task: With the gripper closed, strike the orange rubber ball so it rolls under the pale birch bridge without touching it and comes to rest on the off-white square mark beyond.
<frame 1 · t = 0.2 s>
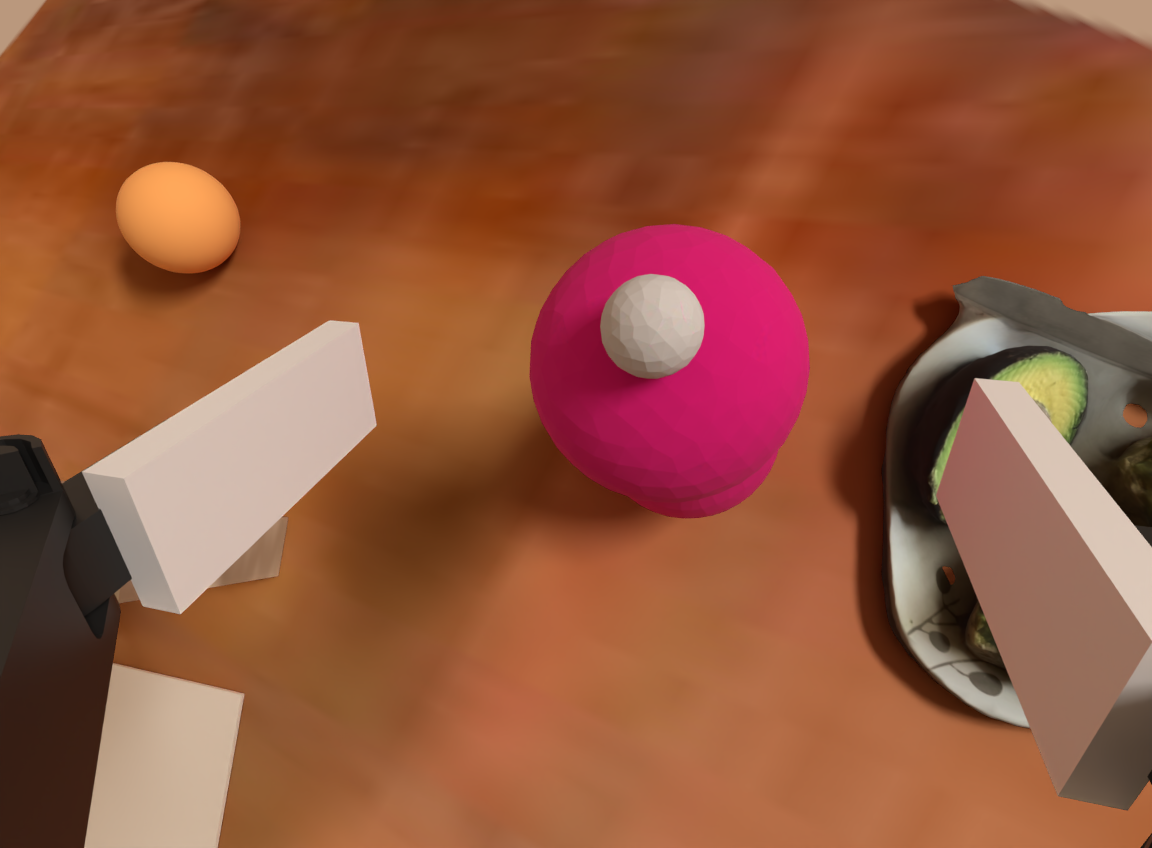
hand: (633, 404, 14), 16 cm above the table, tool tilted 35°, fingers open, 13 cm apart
ball: (180, 219, 34), on the table
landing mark: (114, 797, 34), on the table
salad plate: (1077, 506, 27), on the table
pepper mill: (689, 436, 30), on the table
bridge: (165, 526, 35), on the table
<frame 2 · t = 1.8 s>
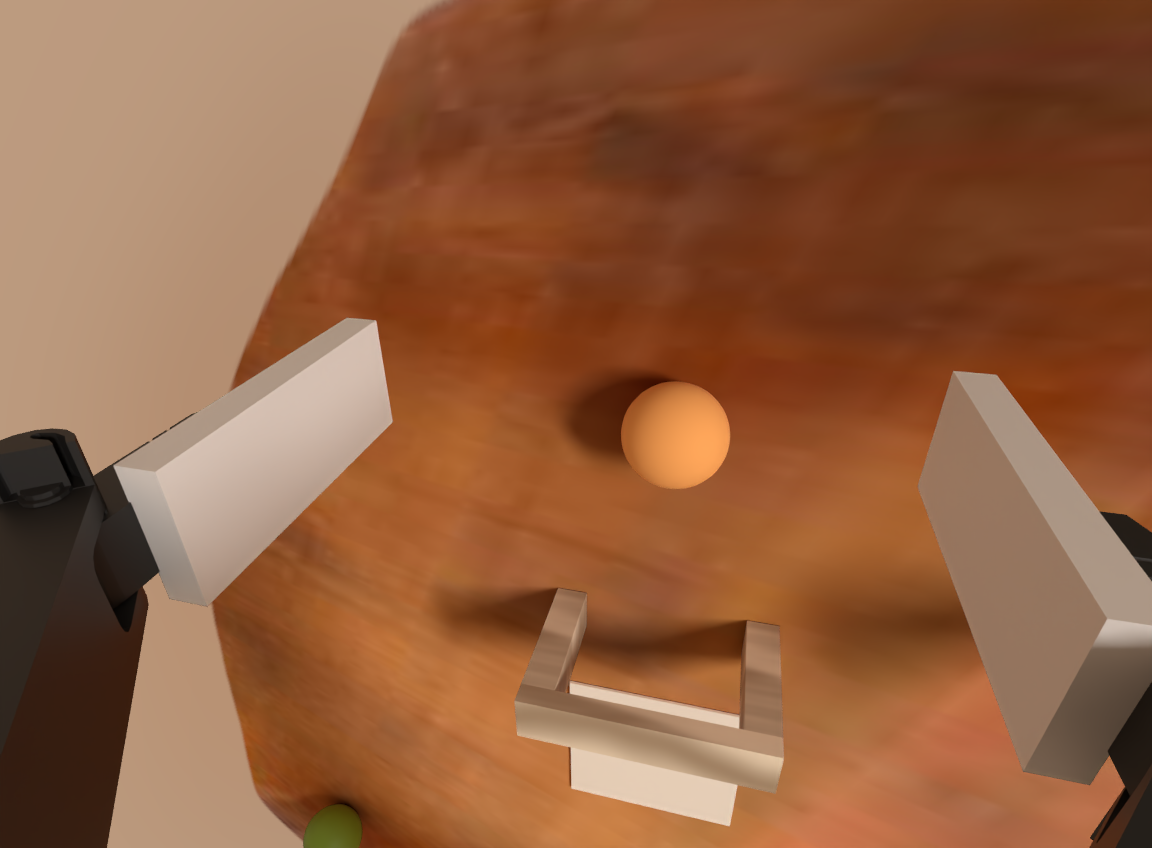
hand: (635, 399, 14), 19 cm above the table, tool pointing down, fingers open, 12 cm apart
ball: (674, 435, 33), on the table
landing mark: (652, 754, 50), on the table
snail figurine: (349, 804, 66), on the table
bridge: (663, 623, 43), on the table
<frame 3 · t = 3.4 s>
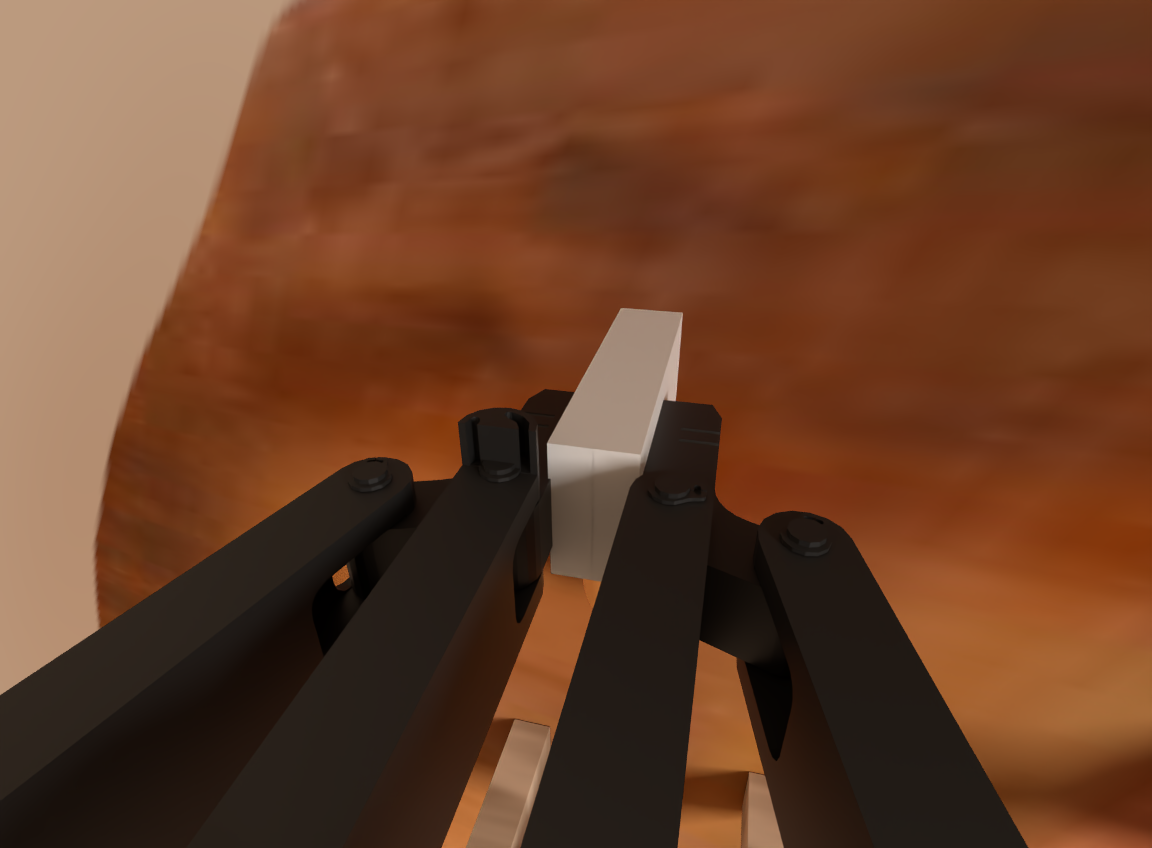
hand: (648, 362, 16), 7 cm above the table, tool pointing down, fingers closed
ball: (654, 570, 25), on the table
bridge: (644, 766, 35), on the table
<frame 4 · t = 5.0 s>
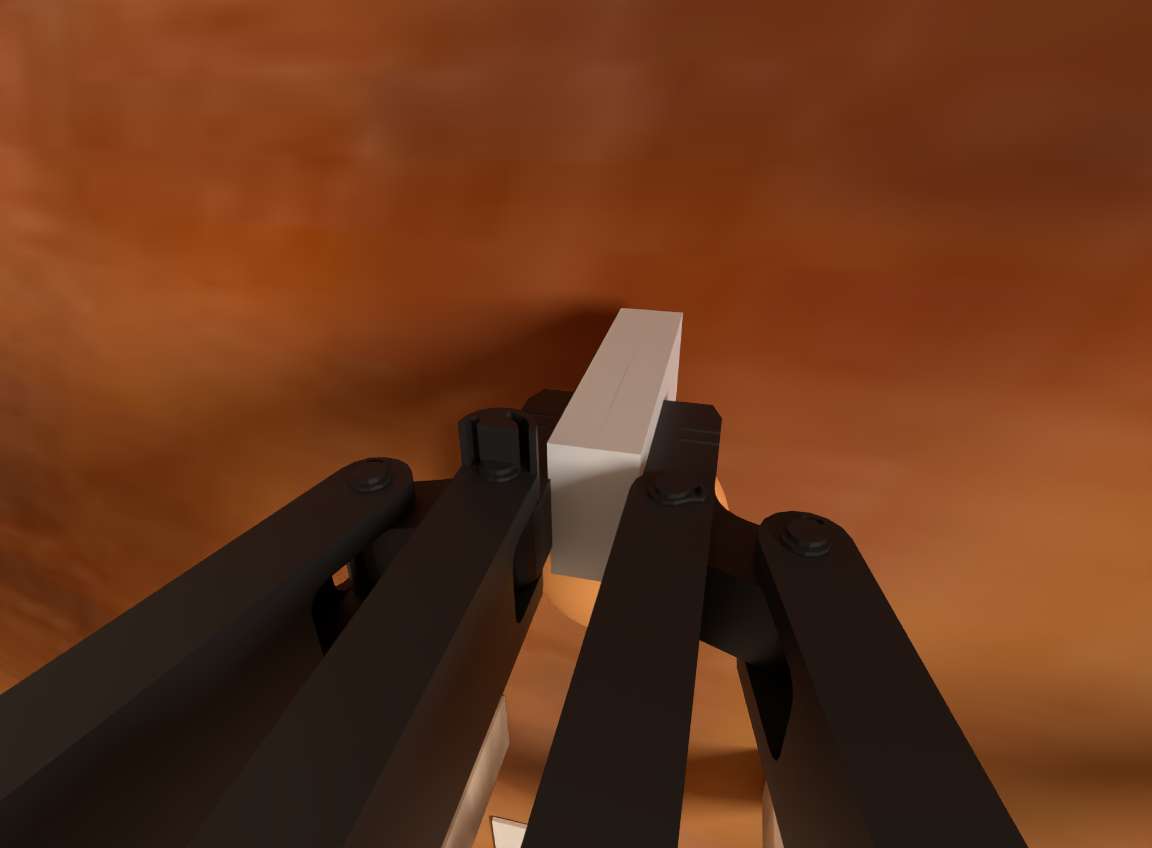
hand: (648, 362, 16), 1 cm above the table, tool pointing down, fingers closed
ball: (624, 526, 17), on the table
bridge: (631, 745, 26), on the table
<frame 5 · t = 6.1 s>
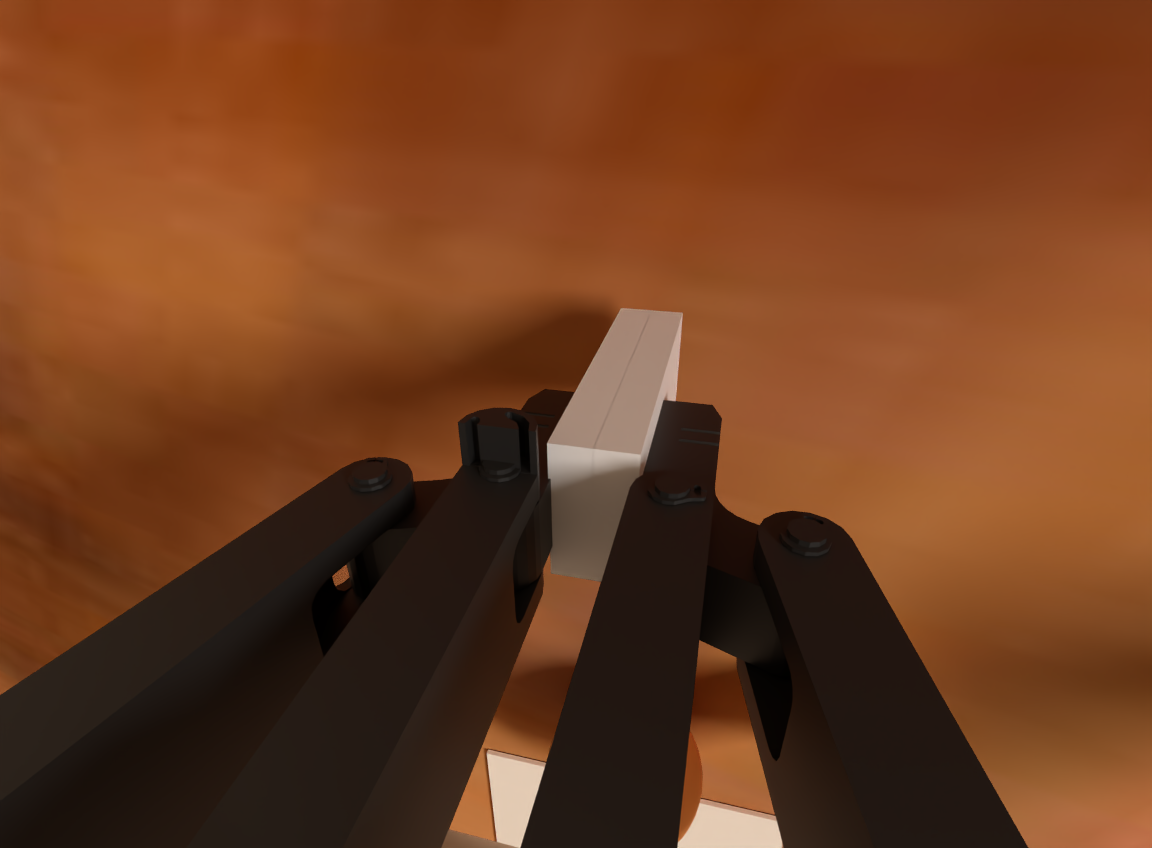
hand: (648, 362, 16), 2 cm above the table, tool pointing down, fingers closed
ball: (623, 771, 23), on the table
bridge: (638, 661, 24), on the table
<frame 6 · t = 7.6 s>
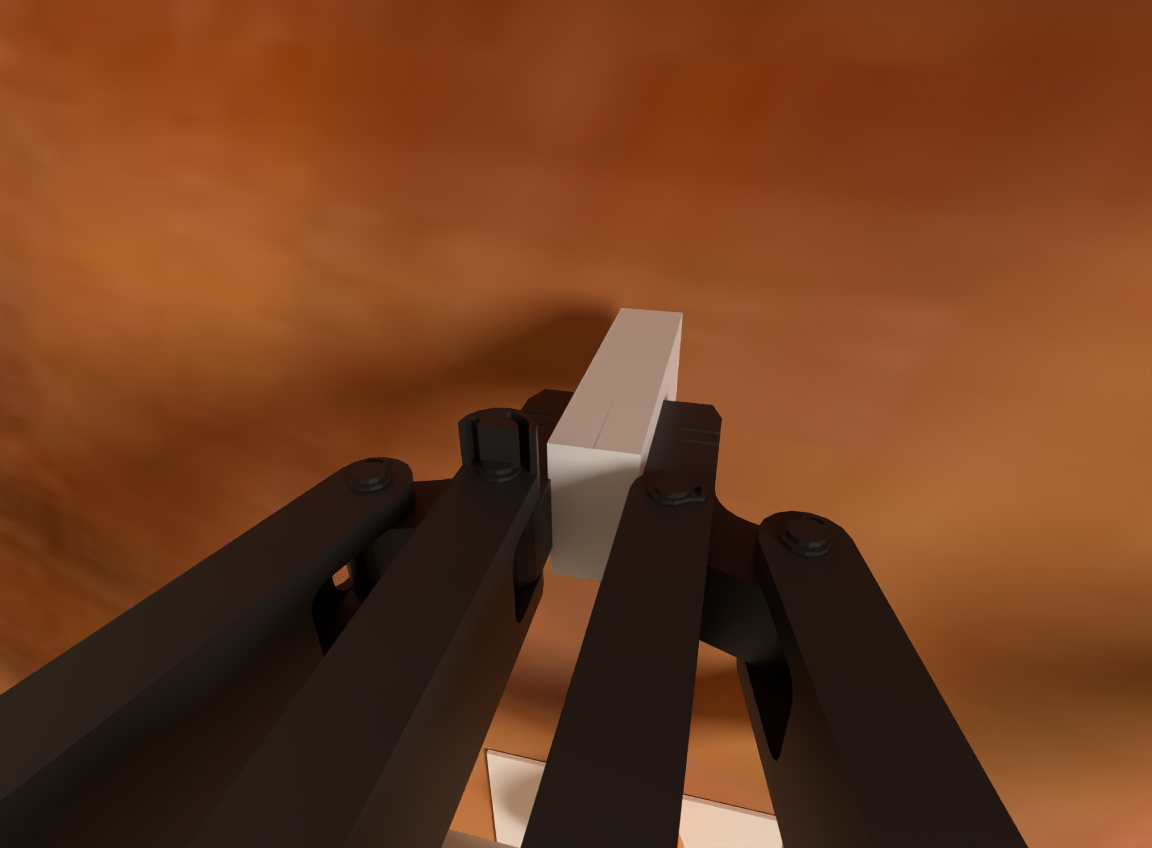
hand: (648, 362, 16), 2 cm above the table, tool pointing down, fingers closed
bridge: (638, 661, 24), on the table
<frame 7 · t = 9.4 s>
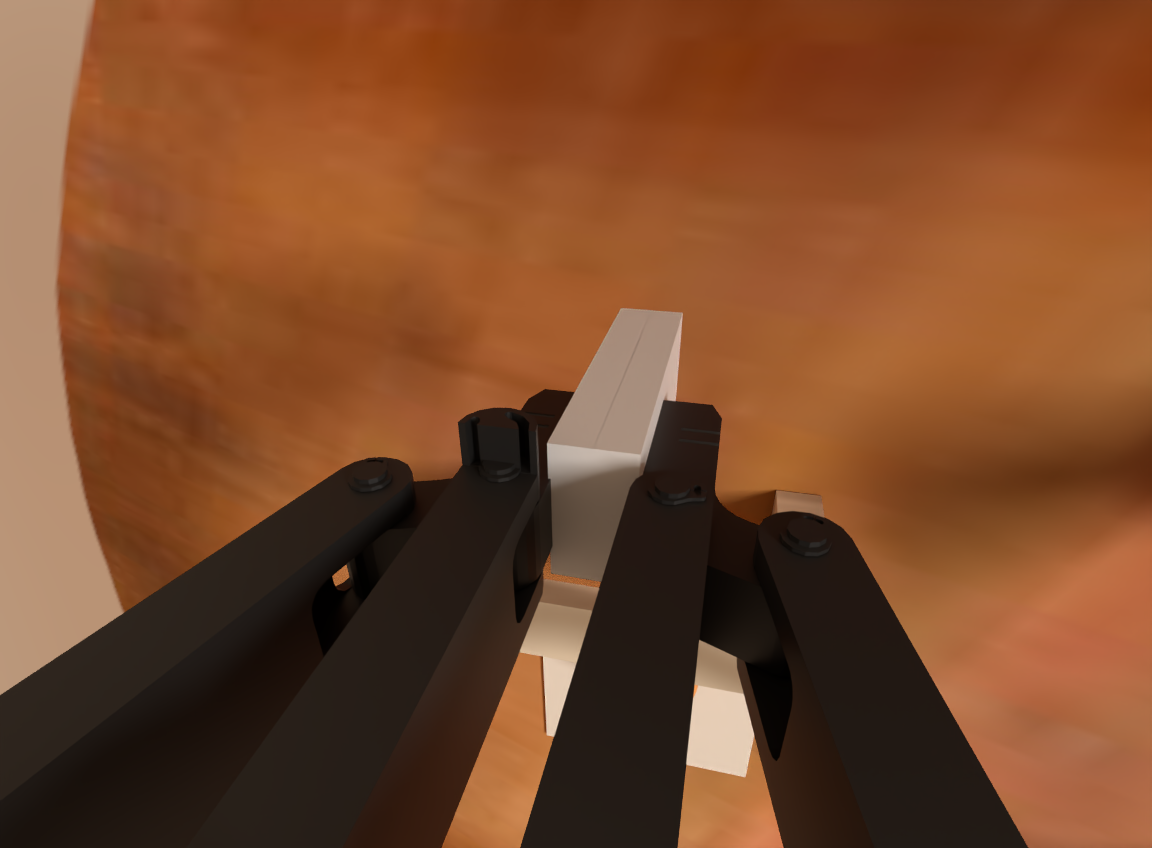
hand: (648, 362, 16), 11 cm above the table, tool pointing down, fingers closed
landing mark: (648, 687, 39), on the table
bridge: (661, 501, 32), on the table
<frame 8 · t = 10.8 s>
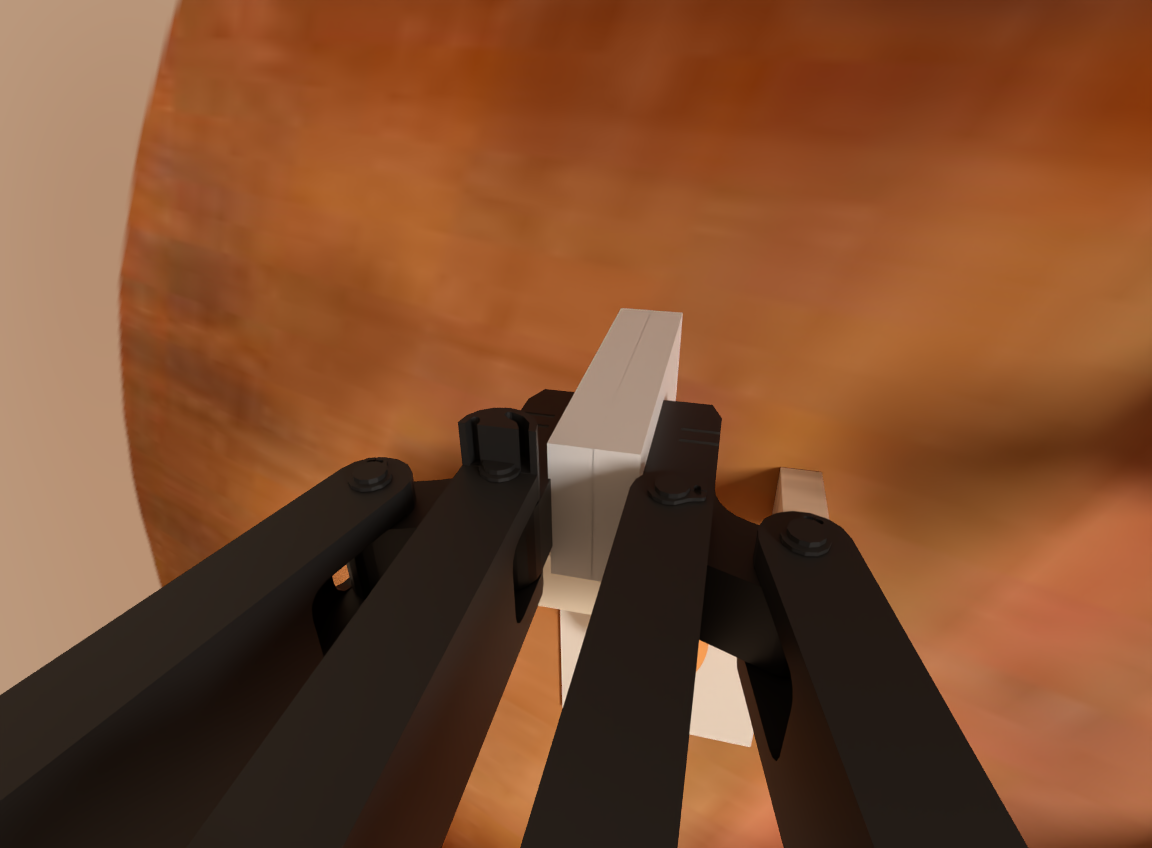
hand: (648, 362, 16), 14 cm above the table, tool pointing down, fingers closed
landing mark: (659, 659, 42), on the table
bridge: (674, 478, 35), on the table
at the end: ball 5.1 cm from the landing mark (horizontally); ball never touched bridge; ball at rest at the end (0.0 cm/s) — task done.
